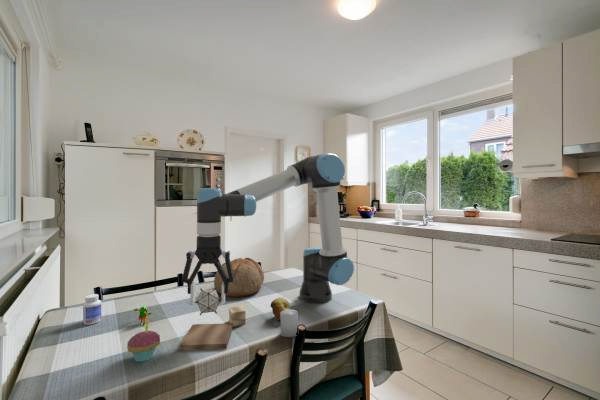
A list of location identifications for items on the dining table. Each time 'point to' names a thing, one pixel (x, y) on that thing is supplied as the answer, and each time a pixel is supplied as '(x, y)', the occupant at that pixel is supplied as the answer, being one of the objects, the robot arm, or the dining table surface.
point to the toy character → (142, 314)
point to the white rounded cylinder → (289, 323)
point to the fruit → (279, 306)
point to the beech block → (237, 315)
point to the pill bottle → (92, 309)
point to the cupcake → (143, 344)
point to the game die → (208, 301)
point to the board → (207, 336)
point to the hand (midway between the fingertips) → (208, 303)
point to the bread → (241, 278)
